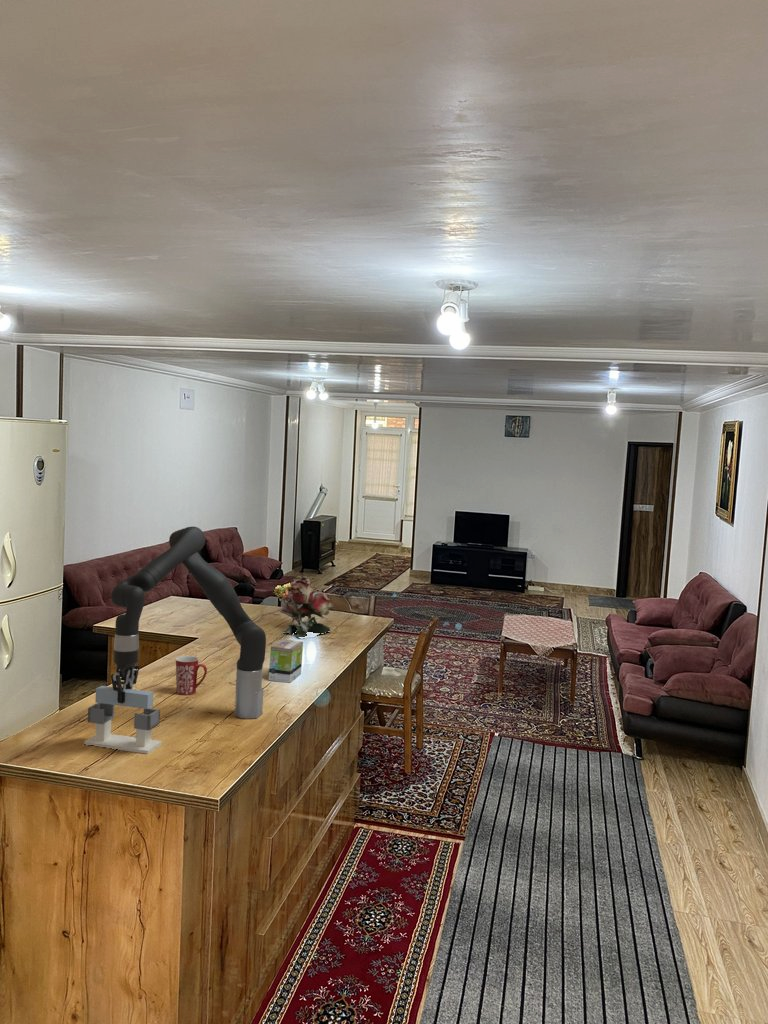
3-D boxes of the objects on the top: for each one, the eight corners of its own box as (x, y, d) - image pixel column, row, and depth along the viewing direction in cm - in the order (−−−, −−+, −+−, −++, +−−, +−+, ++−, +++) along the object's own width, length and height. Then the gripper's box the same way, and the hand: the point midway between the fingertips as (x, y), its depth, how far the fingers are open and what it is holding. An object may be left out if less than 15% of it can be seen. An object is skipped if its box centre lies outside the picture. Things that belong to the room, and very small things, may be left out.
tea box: (290, 683, 332) (292, 648, 331) (267, 680, 334) (269, 646, 333) (301, 674, 346) (303, 640, 345) (279, 671, 348) (281, 638, 347)
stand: (161, 744, 257) (162, 708, 256) (147, 753, 248) (149, 717, 247) (99, 735, 261) (100, 700, 260) (83, 744, 252) (84, 709, 252)
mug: (169, 694, 308) (171, 660, 307) (180, 688, 317) (181, 654, 316) (200, 698, 305) (201, 663, 304) (210, 691, 314) (211, 658, 313)
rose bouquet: (337, 631, 433) (340, 576, 431) (304, 640, 408) (307, 582, 406) (299, 624, 446) (302, 570, 444) (265, 632, 421) (268, 576, 419)
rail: (152, 705, 254) (153, 691, 253) (147, 709, 250) (147, 695, 250) (101, 699, 257) (101, 685, 257) (95, 702, 254) (95, 688, 254)
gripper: (125, 654, 245) (123, 709, 246) (148, 644, 259) (146, 696, 260) (103, 651, 246) (101, 706, 248) (127, 641, 260) (125, 693, 261)
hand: (124, 700), depth 254 cm, fingers closed on rail, 3 cm apart
